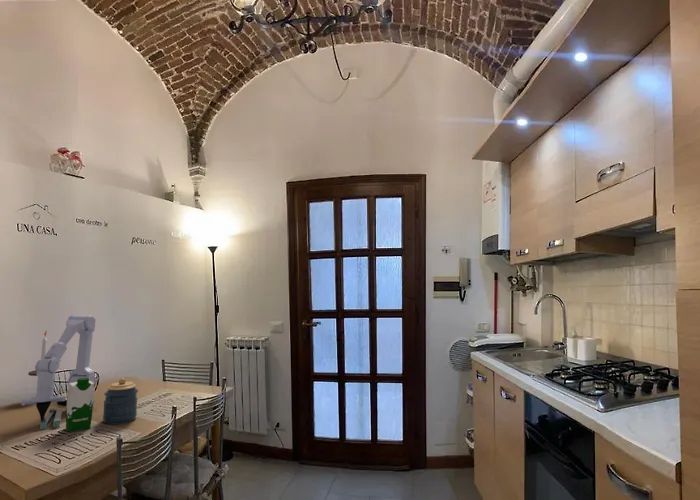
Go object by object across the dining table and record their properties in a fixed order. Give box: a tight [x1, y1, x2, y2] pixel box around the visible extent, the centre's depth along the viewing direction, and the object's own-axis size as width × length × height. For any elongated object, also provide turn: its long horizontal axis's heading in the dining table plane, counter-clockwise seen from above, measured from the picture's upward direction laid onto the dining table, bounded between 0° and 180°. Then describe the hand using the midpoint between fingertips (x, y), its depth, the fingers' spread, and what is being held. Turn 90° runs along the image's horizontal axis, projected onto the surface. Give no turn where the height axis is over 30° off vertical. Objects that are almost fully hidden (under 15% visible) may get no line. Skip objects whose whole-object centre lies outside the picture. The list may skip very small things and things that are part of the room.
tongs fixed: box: [48, 407, 63, 429], centre depth 173 cm, size 5×20×3 cm, turn 33°
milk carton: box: [65, 378, 95, 433], centre depth 166 cm, size 9×9×20 cm
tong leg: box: [39, 411, 55, 430], centre depth 171 cm, size 2×16×3 cm, turn 27°
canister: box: [102, 377, 139, 425], centre depth 178 cm, size 13×13×18 cm
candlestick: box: [27, 330, 48, 377], centre depth 205 cm, size 11×11×35 cm
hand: (42, 420), depth 170 cm, fingers closed
